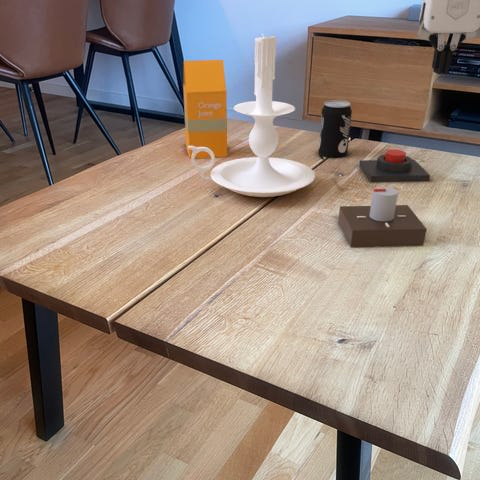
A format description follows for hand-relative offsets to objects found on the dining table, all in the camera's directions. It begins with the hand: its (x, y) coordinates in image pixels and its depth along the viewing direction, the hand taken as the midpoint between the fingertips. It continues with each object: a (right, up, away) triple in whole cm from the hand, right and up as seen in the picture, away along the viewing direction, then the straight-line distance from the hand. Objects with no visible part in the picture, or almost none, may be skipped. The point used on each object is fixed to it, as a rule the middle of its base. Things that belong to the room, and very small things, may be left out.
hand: (440, 72), depth 105 cm
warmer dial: (-15, -30, -13) cm, 36 cm away
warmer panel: (-15, -32, -12) cm, 37 cm away
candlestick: (-36, -21, +6) cm, 42 cm away
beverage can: (-17, -10, +22) cm, 30 cm away
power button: (-6, -14, +9) cm, 18 cm away
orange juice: (-46, -8, +25) cm, 53 cm away
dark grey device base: (-6, -17, +11) cm, 21 cm away
